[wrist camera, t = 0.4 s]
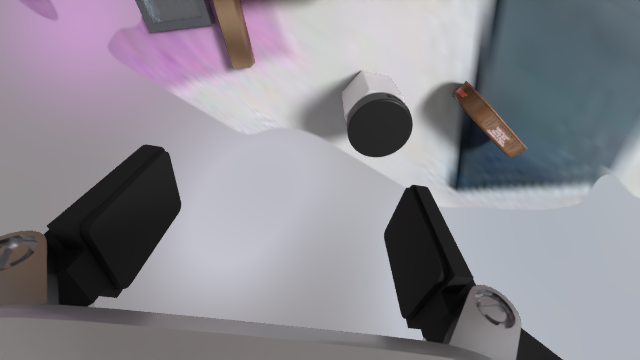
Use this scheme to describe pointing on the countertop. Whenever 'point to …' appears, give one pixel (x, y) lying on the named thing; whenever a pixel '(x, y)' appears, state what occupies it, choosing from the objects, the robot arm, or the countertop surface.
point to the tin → (488, 120)
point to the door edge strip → (235, 32)
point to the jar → (376, 115)
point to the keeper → (175, 14)
